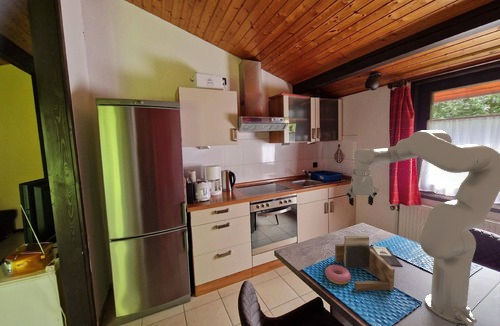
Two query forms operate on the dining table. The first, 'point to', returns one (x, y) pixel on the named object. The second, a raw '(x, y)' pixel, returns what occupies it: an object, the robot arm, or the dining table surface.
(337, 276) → the doughnut
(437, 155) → the robot arm
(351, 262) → the dark grey square tile
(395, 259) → the chocolate bar
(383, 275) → the wooden frame
